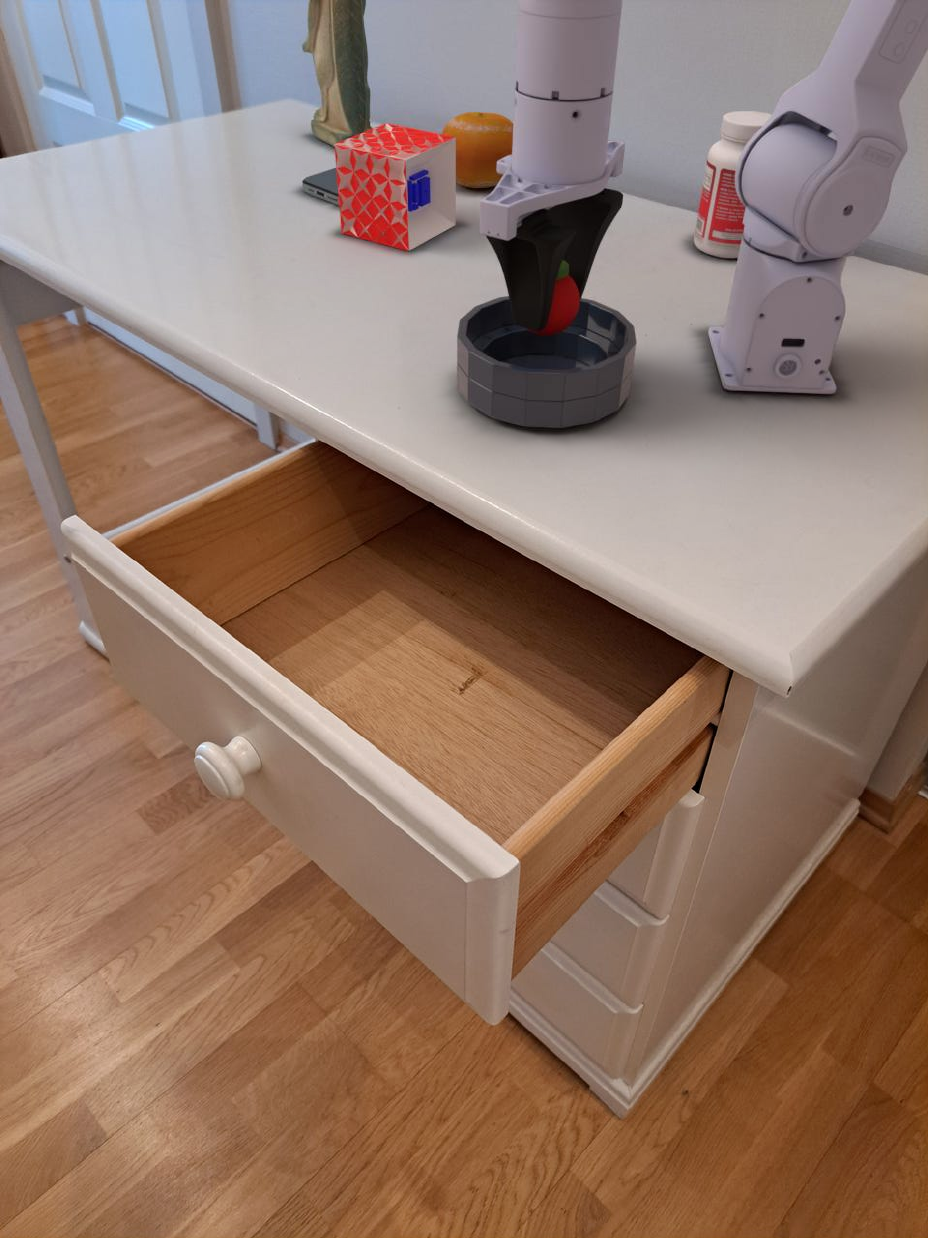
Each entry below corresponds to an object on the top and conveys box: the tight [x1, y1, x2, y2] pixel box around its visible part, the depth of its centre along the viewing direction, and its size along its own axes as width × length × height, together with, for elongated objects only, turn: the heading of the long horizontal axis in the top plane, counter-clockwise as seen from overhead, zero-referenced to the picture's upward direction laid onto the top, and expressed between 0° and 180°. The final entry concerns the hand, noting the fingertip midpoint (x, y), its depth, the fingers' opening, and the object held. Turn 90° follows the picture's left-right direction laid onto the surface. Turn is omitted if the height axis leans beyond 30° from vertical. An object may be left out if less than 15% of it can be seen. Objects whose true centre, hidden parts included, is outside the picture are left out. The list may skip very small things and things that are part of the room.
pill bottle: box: [693, 110, 773, 259], centre depth 83 cm, size 6×6×11 cm
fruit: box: [441, 111, 513, 189], centre depth 97 cm, size 8×8×8 cm
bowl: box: [456, 295, 637, 429], centre depth 65 cm, size 12×12×4 cm
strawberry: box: [526, 260, 580, 336], centre depth 62 cm, size 4×4×5 cm
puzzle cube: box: [334, 123, 457, 252], centre depth 87 cm, size 8×8×8 cm
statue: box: [301, 0, 374, 148], centre depth 102 cm, size 7×8×25 cm
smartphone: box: [301, 167, 339, 207], centre depth 98 cm, size 8×2×15 cm
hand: (547, 313), depth 63 cm, fingers closed on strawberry, 4 cm apart
